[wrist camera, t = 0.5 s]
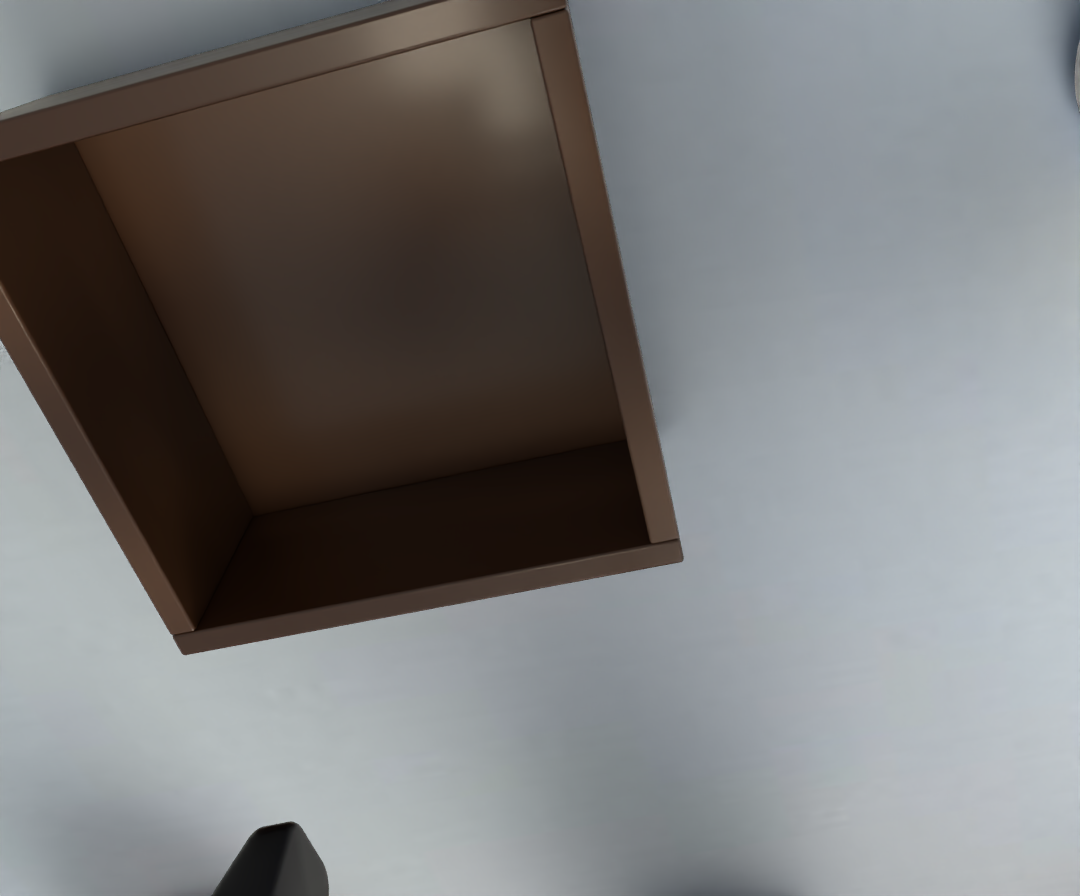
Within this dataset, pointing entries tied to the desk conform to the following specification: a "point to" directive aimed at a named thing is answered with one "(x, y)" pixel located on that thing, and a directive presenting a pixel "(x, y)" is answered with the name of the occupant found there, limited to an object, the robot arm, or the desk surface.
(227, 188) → the desk tray
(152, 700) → the desk surface
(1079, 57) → the supplement bottle
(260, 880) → the robot arm
